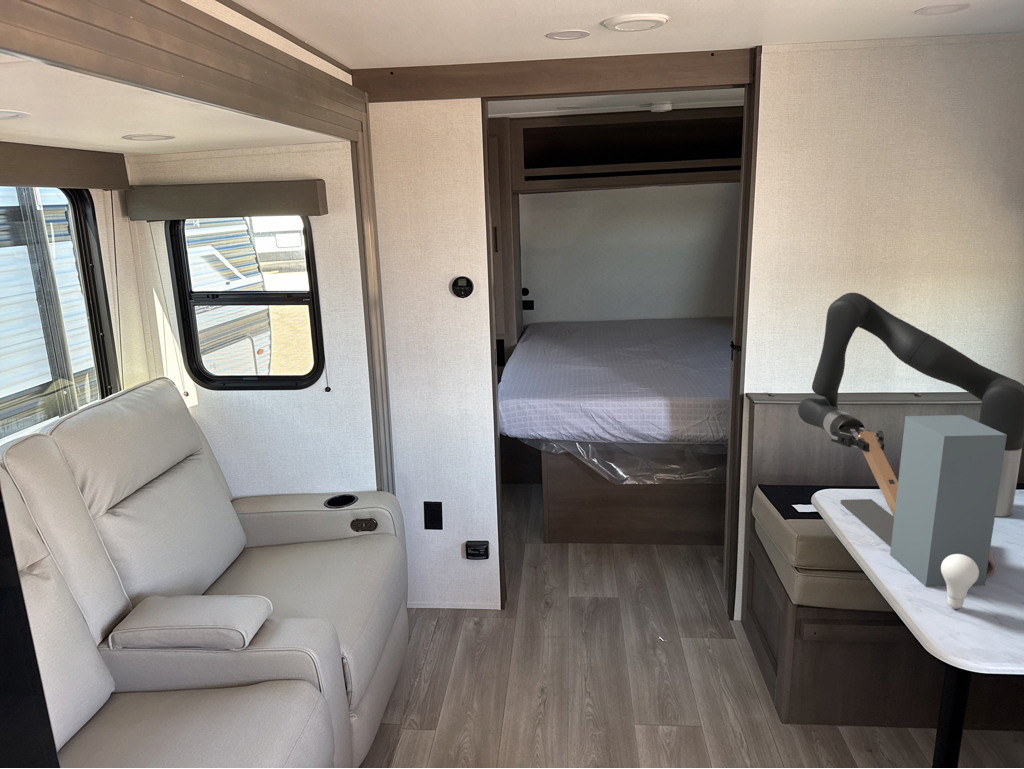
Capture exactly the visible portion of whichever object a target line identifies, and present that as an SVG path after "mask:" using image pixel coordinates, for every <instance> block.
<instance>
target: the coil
mask: <svg viewBox="0 0 1024 769" xmlns="http://www.w3.org/2000/svg"><path fill="white" fill-rule="evenodd" d="M995 573H996V562H995V559H994V554H993V549H992V545H991V546H990V553H989V560H988V567H987V574H986V578H989V577H991V576H992V575H994V574H995Z"/></svg>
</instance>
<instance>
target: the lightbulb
mask: <svg viewBox="0 0 1024 769" xmlns="http://www.w3.org/2000/svg"><path fill="white" fill-rule="evenodd" d="M941 572H942V575H943V577H944V579H945V581H946V585H947V586H946V593H947V605H948V606H949V607H951V608H952V609H954V610H957V609H962V608H963V606H964V602H965V599H966V598H967V594H968V591H969V590H970V588H971V587H973V586H972V585H973V584H974V583H975V582H976V580H977V579H978V576H979V570H978V566H977V565H976V563H975V562H974V561H973V560H972V559H971V558H970V557H968V556H965V555H962V554H953V555H950V556H948V557H946V558H945V559H944V560H943V562H942V564H941Z"/></svg>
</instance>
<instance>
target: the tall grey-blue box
mask: <svg viewBox="0 0 1024 769" xmlns="http://www.w3.org/2000/svg"><path fill="white" fill-rule="evenodd" d="M904 418H905V419H904V427H903V436H902V445H901V453H900V454H901V455H900V462H899V470H898V472H899V473H898V479H897V481H898V488H897V497H896V506H895V515H894V524H893V533H892V542H891V547H890V551H889V555H890V556H891V557H892V559H894V560H895V559H896V560H897V561H896V562H897V563H899V564H900V565H901V566H902V567H903V568H904V569H905V568H906V569H907V570H906V569H905V570H906V571H907V572H908V573H910V575H912V576H913V577H916V578H915V579H916V580H918V582H920V583H921V584H922V585H924V587H926V588H927V587H928V588H929V587H931V588H932V587H934V588H935V587H947V585H946V581H945V579H944V577H943V575H942V572H941V564H942V562H943V560H944V559H945V558H946V557H948V556H950V555H953V554H962V555H965V556H968V557H970V558H971V559H972V560H973V561H974V562H975V563H976V565H977V566H978V570H979V576H978V579H977V580H976V582H975V583H974V584H973V585H972V586H971V587H973V586H974V587H977V586H979V587H981V586H983V587H984V586H985V585H986V580H987V577H986V574H987V567H988V560H989V553H990V546H991V547H992V540H993V539H992V538H993V532H994V524H995V518H996V516H995V512H996V505H997V499H998V492H999V485H1000V478H1001V471H1002V464H1003V458H1004V451H1005V444H1006V437H1007V435H1006V434H1004V433H1002V432H999V431H997V430H995V429H993V428H990V427H988V426H986V425H984V424H981V423H979V421H976V420H975V419H972V418H970V417H968V416H965V415H963V414H955V415H954V414H951V415H950V414H949V415H948V414H947V415H946V414H945V415H944V414H942V415H906V416H904Z"/></svg>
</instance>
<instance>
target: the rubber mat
mask: <svg viewBox="0 0 1024 769" xmlns="http://www.w3.org/2000/svg"><path fill="white" fill-rule="evenodd" d="M840 504H841V506H843V507H844V508H845V509H847V511H849V513H851V514H852V515H853V516H854V517H855V518H856V519H858V520H859V521H860V522H861V523H862V524H864V525H865V526H866V527H867V528H868V529H869V530H870V531H871V532H873V534H875V535H876V536H877V537H878V538H879V539H880V540H882V541H883V542H884V543H885V545H886V544H887V546H888V547H890V548H891V542H892V533H893V524H894V517H893V514H892V513H890V512H889V511H887V510H886V509H884V507H882V506H881V505H880V504H878V503H877V502H876V501H875V500H873V499H872V498H868V499H867V498H865V499H864V498H863V499H860V498H858V499H840Z"/></svg>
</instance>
